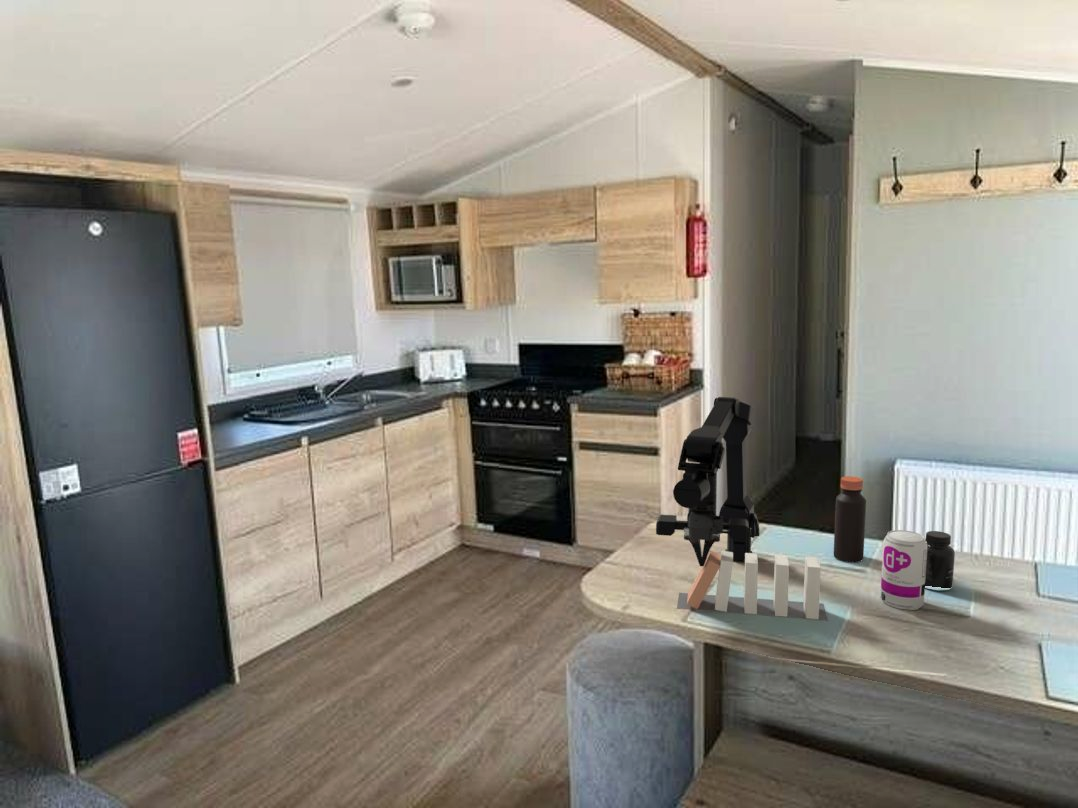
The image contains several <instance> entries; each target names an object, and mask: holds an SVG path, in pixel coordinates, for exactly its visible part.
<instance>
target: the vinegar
mask: <svg viewBox="0 0 1078 808" xmlns="http://www.w3.org/2000/svg"><path fill="white" fill-rule="evenodd" d="M863 485H864V480H863V479H862V478H861V477H858V476H842V477H841V478H840V490H841V492H840V493H839V494H838V495H837V496H836V498H835V508H834V509H835V511H834V535H833V536H834V537H833V557H834V558H835V559H836V560H838V561H840V562H844V563H853V562H854V563H859V562H858V561H860V562H861V560H862V561H863V560H864V556H865V555H864V552H865V551H864V549H865V533H866V531H865V530H866V509H867V500H866V498H865V497H864V496H863V495H862V491H863Z"/></svg>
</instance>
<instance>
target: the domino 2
mask: <svg viewBox="0 0 1078 808" xmlns="http://www.w3.org/2000/svg"><path fill="white" fill-rule="evenodd" d="M758 559H759V558H758V553H753V552H752V553H745V561H744V583H743V584H744V586H743V589H744V590H743V591H744V592H743V593H744V594H743V598H744V611H745V613H747V614H746V615H751V614H757V599H758V580H759V579H758V578H759V577H758V575H759V573H758V572H759V561H758Z"/></svg>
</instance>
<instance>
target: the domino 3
mask: <svg viewBox="0 0 1078 808" xmlns="http://www.w3.org/2000/svg"><path fill="white" fill-rule="evenodd" d="M788 559H789V558H788V556H787V554H786V555H785V554H784V555H783V554H774V569H773V570H774V571H773V572H774V574H773V575H774V576H773V579H774V580H773V600H774V612H775V616H774V617H776V616H784V617H783V618H788V617H787V612H788V601H789V579H790V578H789V574H790V573H789V571H790V564H789V560H788Z"/></svg>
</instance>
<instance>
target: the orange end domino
mask: <svg viewBox="0 0 1078 808" xmlns="http://www.w3.org/2000/svg"><path fill="white" fill-rule="evenodd" d="M720 563H721V554H718V553H716V552H713V551H711V550H709V553H708V556H707V559H706V561H705V564H704V566H701V568H700V570H699V572H698V573H697V575H696V578H695V580H694V581H693V583H692V585H691V587H690V589H689V591H688V592H687V593H688V598H687V605H689V606H691V607H693V608H695V609H698V607H699V605H700V603H701V602H702V600H703V598H704V596H705V595H707V592H708V590H709V588H710V586H711V584H712V582H713V580H714V579H715V576H717V573H718V572H719V568H720Z"/></svg>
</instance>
